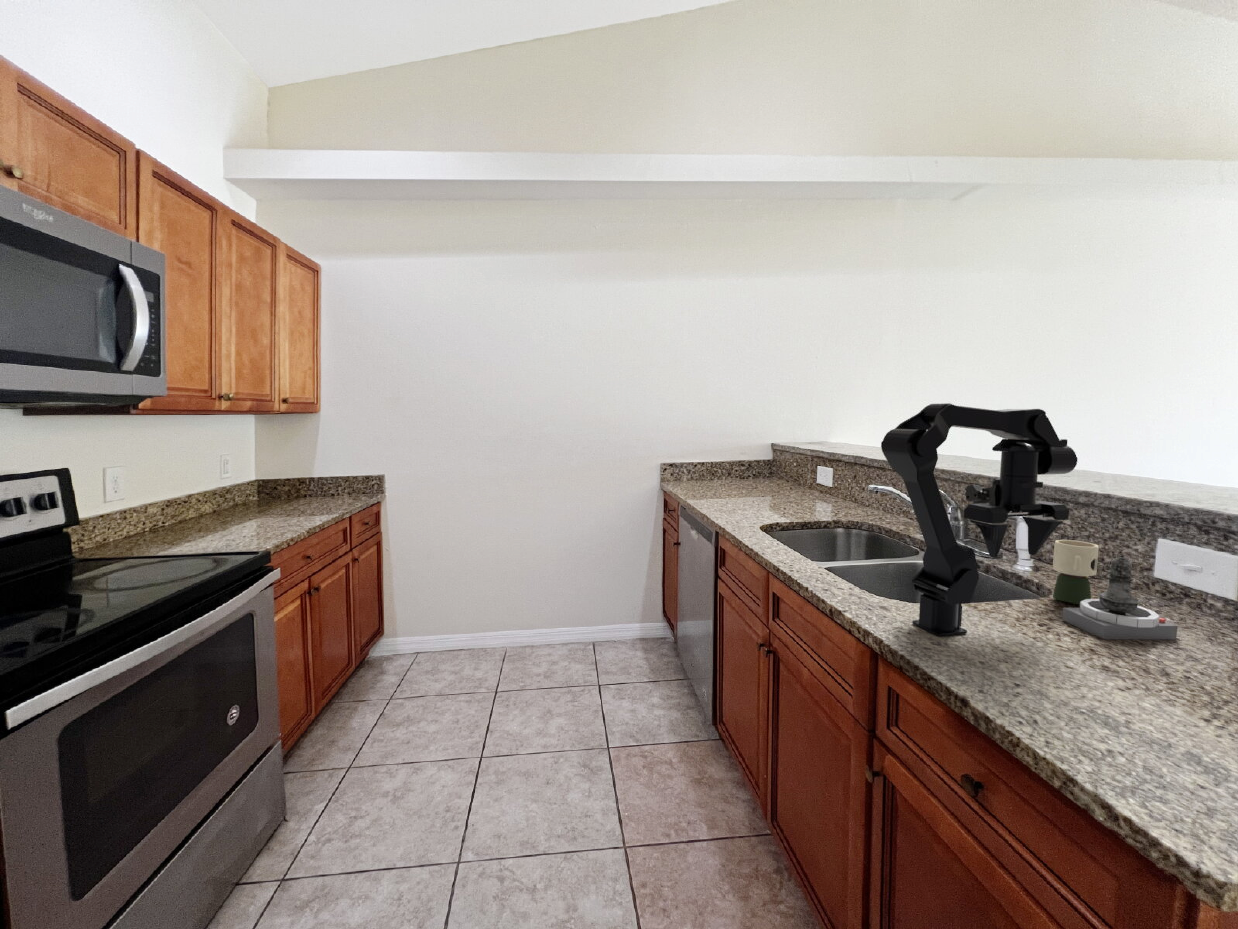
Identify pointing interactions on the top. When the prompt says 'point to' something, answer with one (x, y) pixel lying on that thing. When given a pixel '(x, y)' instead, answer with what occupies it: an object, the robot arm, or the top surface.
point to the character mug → (1074, 569)
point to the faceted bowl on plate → (1119, 622)
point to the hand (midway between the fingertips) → (1012, 556)
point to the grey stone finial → (1119, 589)
